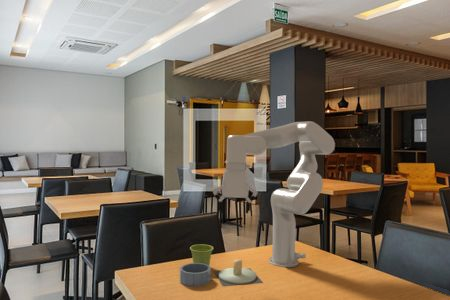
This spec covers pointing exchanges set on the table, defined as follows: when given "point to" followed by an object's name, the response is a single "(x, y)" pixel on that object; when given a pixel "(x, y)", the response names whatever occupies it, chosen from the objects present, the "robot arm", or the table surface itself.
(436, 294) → the table surface
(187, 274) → the bowl
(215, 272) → the mat
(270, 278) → the table surface
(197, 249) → the plant pot
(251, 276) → the lid
